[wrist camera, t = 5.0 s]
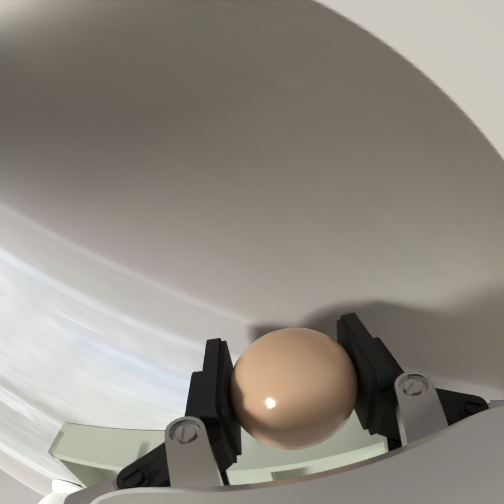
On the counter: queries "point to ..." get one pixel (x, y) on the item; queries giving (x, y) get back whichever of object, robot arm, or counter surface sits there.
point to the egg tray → (243, 472)
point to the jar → (60, 492)
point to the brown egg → (293, 388)
